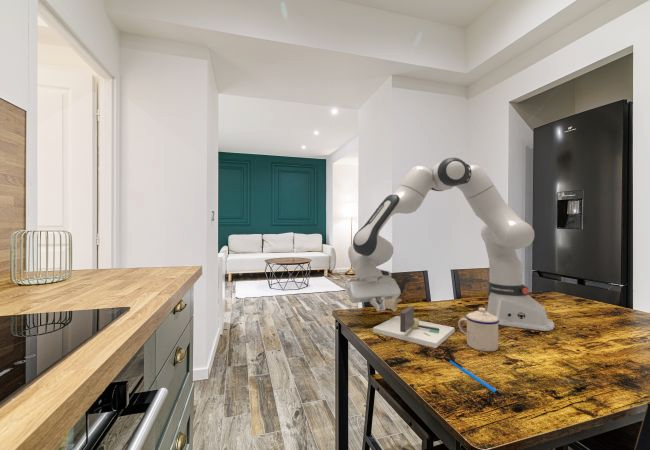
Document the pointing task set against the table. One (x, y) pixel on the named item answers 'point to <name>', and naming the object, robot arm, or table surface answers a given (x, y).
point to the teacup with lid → (481, 330)
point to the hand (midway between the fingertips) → (381, 310)
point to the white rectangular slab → (415, 332)
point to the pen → (474, 377)
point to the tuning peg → (410, 320)
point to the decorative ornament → (392, 304)
